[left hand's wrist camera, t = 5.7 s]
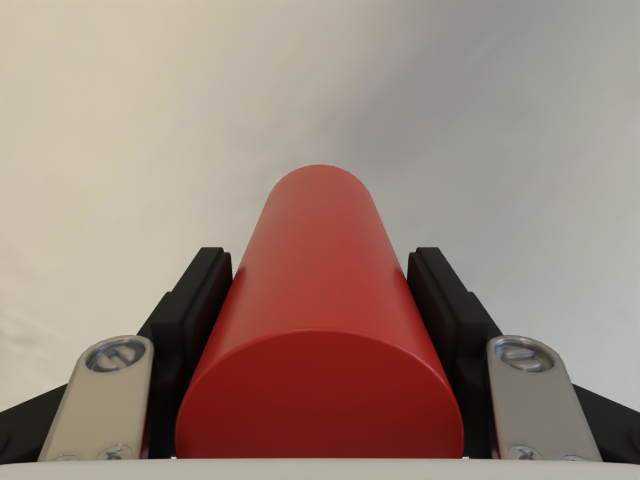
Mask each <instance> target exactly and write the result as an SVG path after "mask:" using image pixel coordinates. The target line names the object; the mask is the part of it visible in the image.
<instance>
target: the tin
mask: <svg viewBox="0 0 640 480" xmlns="http://www.w3.org/2000/svg"><path fill="white" fill-rule="evenodd" d="M464 440H465V432H464V424H463V418H462V415H461V412H460V408H459V405H458V403H457V400H456V398H455V395H454V393H453V391H452V388H451V386H450V383H449V381H448V379H447V376H446V374H445V371H444V369H443V367H442V364H441V362H440V360H439V357H438V355H437V352H436V350H435V348H434V345H433V343H432V340H431V338H430V336H429V333H428V331H427V328H426V326H425V324H424V321H423V319H422V316H421V314H420V312H419V309H418V307H417V305H416V302H415V300H414V297H413V295H412V293H411V290H410V288H409V285H408V283H407V281H406V278H405V276H404V273H403V271H402V269H401V266H400V264H399V262H398V259H397V257H396V254H395V252H394V250H393V247H392V245H391V242H390V240H389V238H388V235H387V233H386V230H385V228H384V226H383V223H382V221H381V218H380V216H379V214H378V211H377V209H376V207H375V204H374V202H373V199H372V197H371V195H370V193H369V191H368V190H367V189H366V187H365V186H364V185H363V184H362V182H361V181H360V180H359V179H357V178H356V177H355V176H354V175H352V174H351V173H349V172H347V171H345V170H343V169H341V168H337V167H334V166H329V165H310V166H306V167H302V168H299V169H297V170H295V171H293V172H291V173H289V174H288V175H286V176H285V177H283V178H282V179H281V180H280V181H279V182H278V183H277V184H276V185H275V187H274V188H273V189H272V191H271V193H270V194H269V197H268V199H267V201H266V203H265V206H264V208H263V211H262V213H261V215H260V218H259V220H258V222H257V225H256V227H255V230H254V232H253V234H252V237H251V239H250V241H249V244H248V246H247V249H246V251H245V253H244V256H243V258H242V260H241V263H240V265H239V268H238V270H237V272H236V275H235V277H234V279H233V282H232V284H231V287H230V289H229V291H228V294H227V296H226V298H225V301H224V303H223V306H222V308H221V310H220V313H219V315H218V317H217V320H216V322H215V325H214V327H213V329H212V332H211V334H210V336H209V339H208V341H207V344H206V346H205V348H204V351H203V353H202V355H201V358H200V360H199V363H198V365H197V367H196V370H195V372H194V374H193V377H192V379H191V381H190V384H189V386H188V389H187V391H186V393H185V396H184V398H183V400H182V403H181V405H180V408H179V411H178V415H177V419H176V423H175V433H174V442H175V453H176V458H177V459H269V458H371V459H462V457H463V452H464Z"/></svg>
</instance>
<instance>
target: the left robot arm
mask: <svg viewBox="0 0 640 480" xmlns="http://www.w3.org/2000/svg"><path fill="white" fill-rule="evenodd" d="M232 282H233V276H232V263H231V255H230V253H229V252H224V250H223V248H222V247H202V248H201V249H200V250H199V252H198V253H197V255H196V256H195V258H194V259H193V261H192V262H191V264H190V265H189V267H188V268H187V270H186V271H185V273H184V274H183V275H182V277H181V278H180V280H179V281H178V283H177V284H176V286H175V287H174V289H173V290H172V292H167V293H166V294H165V295H164V296H163V298H162V299H161V301H160V302H159V303H158V305H157V306H156V308H155V309H154V311H153V312H152V313H151V315H150V316H149V318H148V319H147V320H146V322H145V323H144V325H143V326H142V328H141V329H140V330H139V332H138V333H137V335H124V336H117V337H113V338H109V339H106V340H103V341H101V342H98V343H97V344H95V345H93V346H91V347H89V348H88V349H87V350H86V351H85V352H83V353H82V354H81V356H80V357H79V359H78V360H77V363H76V365H75V368H74V370H73V373H72V375H71V378H70V380H69V383H67V384H65V385H63V386H60V387H58V388H56V389H53V390H51V391H49V392H46V393H44V394H42V395H40V396H37V397H35V398H33V399H30V400H28V401H26V402H23V403H21V404H19V405H16V406H14V407H12V408H9V409H7V410H5V411H2V412H0V480H640V412H637V411H635V410H633V409H630V408H628V407H626V406H623V405H621V404H619V403H616V402H614V401H612V400H609V399H607V398H605V397H603V396H600V395H598V394H596V393H593V392H591V391H589V390H586V389H584V388H582V387H579V386H577V385H575V384H572V383H571V380H570V378H569V375H568V373H567V370H566V368H565V365H564V363H563V360H562V359H561V357H560V356H559V354H558V353H557V352H555V351H554V350H553V349H552V348H551V347H549V346H547V345H545V344H543V343H542V342H539V341H537V340H534V339H531V338H527V337H523V336H516V335H503V334H502V332H501V331H500V330H499V328H498V327H497V325H496V324H495V322H494V321H493V320H492V318H491V317H490V315H489V314H488V312H487V311H486V310H485V308H484V307H483V305H482V304H481V303H480V301H479V300H478V298H477V297H476V295H475V294H474V293H473V292H468V291H467V289H466V288H465V286H464V285H463V283H462V282H461V280H460V279H459V278H458V276H457V275H456V273H455V272H454V270H453V269H452V267H451V266H450V264H449V263H448V261H447V260H446V258H445V257H444V255H443V254H442V253H441V251H440V250H439V248H438V247H418V248H417V249H416V252H411V253H410V254H409V259H408V271H407V283H408V285H409V288H410V290H411V293H412V295H413V297H414V300H415V302H416V305H417V307H418V309H419V312H420V314H421V316H422V319H423V321H424V324H425V326H426V328H427V331H428V333H429V336H430V338H431V340H432V343H433V345H434V348H435V350H436V352H437V355H438V357H439V360H440V362H441V364H442V367H443V369H444V371H445V374H446V376H447V379H448V381H449V383H450V386H451V388H452V391H453V393H454V395H455V398H456V400H457V403H458V405H459V408H460V412H461V415H462V418H463V424H464V432H465V440H464V452H463V457H469V459H371V458H269V459H171V456H172V457H176V453H175V442H174V433H175V423H176V419H177V415H178V411H179V408H180V405H181V403H182V400H183V398H184V396H185V393H186V391H187V389H188V386H189V384H190V381H191V379H192V377H193V374H194V372H195V370H196V367H197V365H198V363H199V360H200V358H201V355H202V353H203V351H204V348H205V346H206V344H207V341H208V339H209V336H210V334H211V332H212V329H213V327H214V325H215V322H216V320H217V317H218V315H219V313H220V310H221V308H222V306H223V303H224V301H225V298H226V296H227V294H228V291H229V289H230V287H231V284H232Z"/></svg>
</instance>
